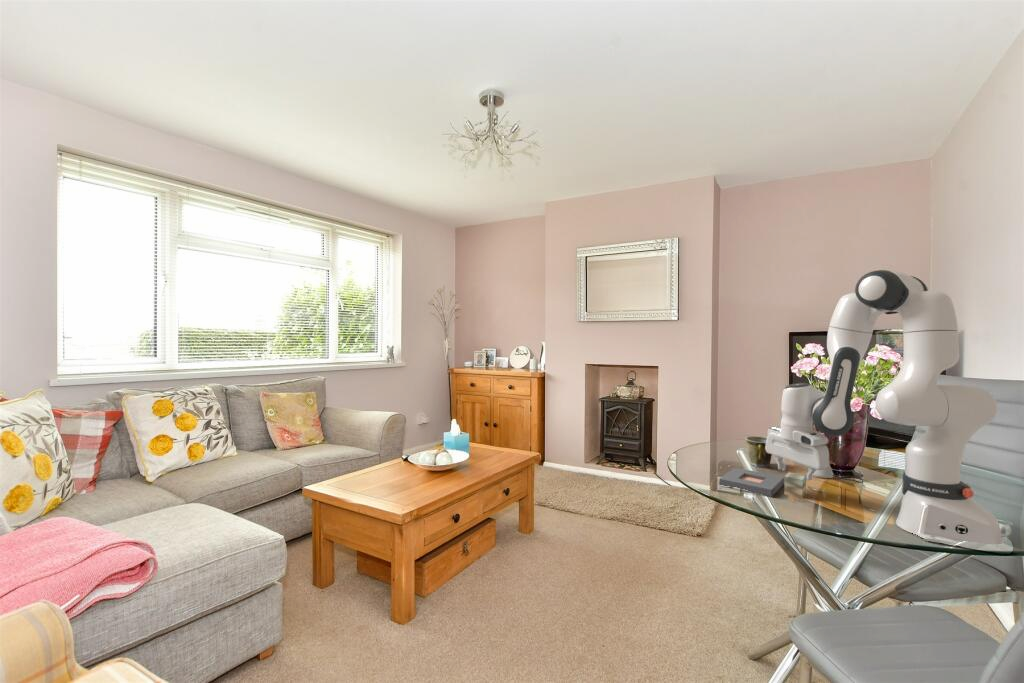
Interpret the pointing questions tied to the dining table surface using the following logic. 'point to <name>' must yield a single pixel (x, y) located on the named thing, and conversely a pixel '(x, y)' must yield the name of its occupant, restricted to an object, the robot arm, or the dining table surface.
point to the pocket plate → (753, 481)
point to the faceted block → (795, 485)
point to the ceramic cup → (758, 451)
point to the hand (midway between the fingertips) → (794, 474)
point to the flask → (824, 473)
